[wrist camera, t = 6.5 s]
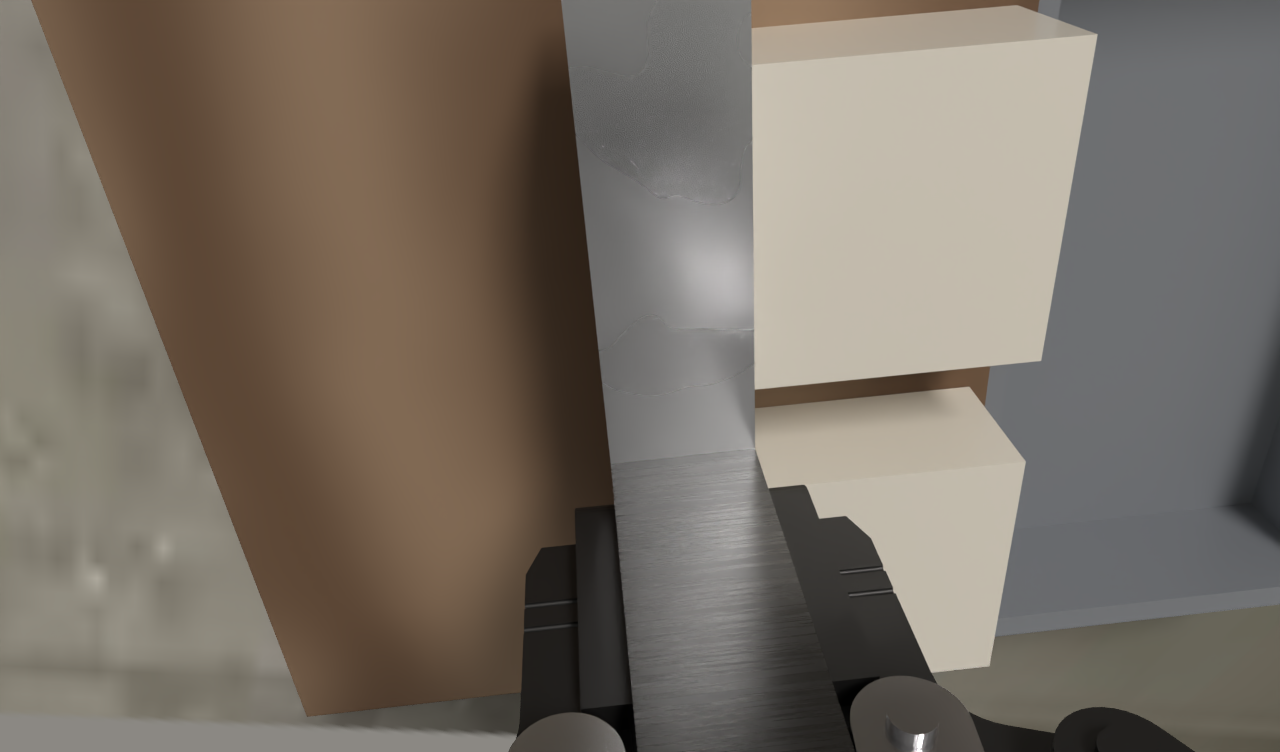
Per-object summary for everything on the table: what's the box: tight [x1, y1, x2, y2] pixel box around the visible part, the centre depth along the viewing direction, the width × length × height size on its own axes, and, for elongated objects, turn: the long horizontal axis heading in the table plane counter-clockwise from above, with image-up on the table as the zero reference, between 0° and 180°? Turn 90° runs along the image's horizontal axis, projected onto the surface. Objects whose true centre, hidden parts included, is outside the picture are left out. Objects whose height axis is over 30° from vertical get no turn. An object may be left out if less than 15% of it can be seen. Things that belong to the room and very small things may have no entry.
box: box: [985, 0, 1280, 637], centre depth 20 cm, size 10×17×4 cm, turn 4°
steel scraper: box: [561, 0, 855, 752], centre depth 12 cm, size 2×15×9 cm, turn 4°
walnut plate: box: [31, 0, 1039, 717], centre depth 19 cm, size 15×16×4 cm
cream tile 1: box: [752, 5, 1098, 390], centre depth 15 cm, size 5×5×2 cm
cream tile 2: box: [755, 387, 1026, 673], centre depth 18 cm, size 5×5×2 cm
